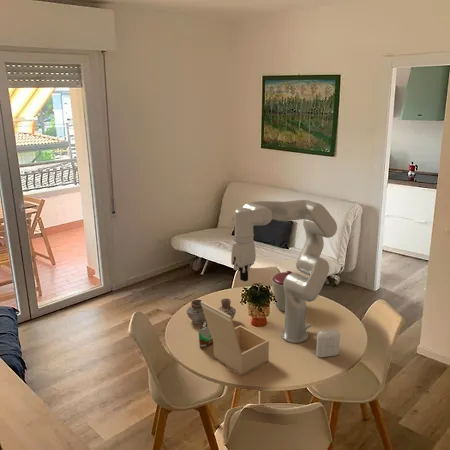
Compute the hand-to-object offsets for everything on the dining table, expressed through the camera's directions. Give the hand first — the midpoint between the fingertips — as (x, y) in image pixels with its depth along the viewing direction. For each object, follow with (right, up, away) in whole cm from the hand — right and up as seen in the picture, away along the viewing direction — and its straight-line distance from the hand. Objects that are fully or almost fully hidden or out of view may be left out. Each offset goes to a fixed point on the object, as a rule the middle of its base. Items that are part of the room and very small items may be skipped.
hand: (244, 280), depth 194 cm
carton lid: (-9, -19, -3) cm, 21 cm away
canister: (+26, -22, +56) cm, 65 cm away
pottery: (-15, -26, +43) cm, 52 cm away
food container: (-16, -32, +23) cm, 43 cm away
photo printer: (+37, -35, +12) cm, 53 cm away
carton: (-1, -36, +10) cm, 37 cm away
